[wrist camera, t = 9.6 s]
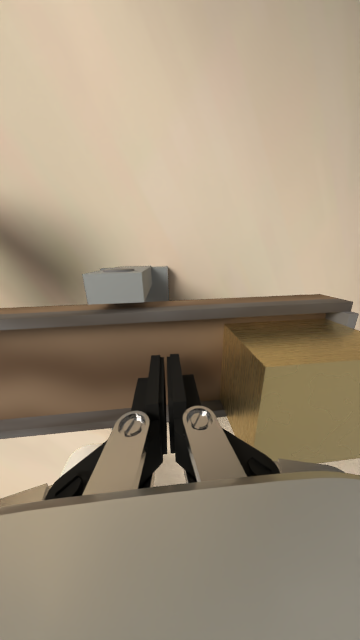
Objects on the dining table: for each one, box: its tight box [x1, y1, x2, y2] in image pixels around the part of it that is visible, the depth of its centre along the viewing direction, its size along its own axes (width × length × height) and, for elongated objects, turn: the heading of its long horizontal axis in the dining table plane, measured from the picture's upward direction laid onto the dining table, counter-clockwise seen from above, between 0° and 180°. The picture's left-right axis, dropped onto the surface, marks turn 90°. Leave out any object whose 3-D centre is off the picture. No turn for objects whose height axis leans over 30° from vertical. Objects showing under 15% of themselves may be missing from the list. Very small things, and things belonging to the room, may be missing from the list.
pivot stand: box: [82, 266, 169, 430], centre depth 16 cm, size 12×6×8 cm, turn 1°
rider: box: [220, 318, 360, 464], centre depth 11 cm, size 6×7×5 cm
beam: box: [0, 294, 359, 439], centre depth 14 cm, size 8×28×6 cm, turn 91°
